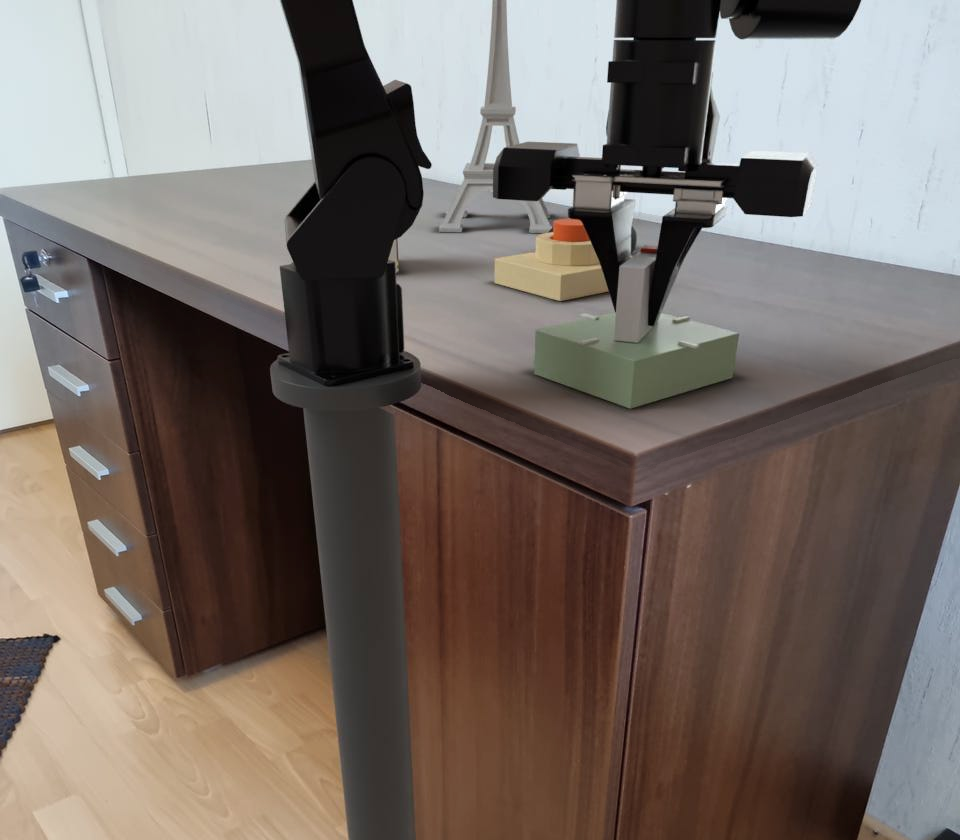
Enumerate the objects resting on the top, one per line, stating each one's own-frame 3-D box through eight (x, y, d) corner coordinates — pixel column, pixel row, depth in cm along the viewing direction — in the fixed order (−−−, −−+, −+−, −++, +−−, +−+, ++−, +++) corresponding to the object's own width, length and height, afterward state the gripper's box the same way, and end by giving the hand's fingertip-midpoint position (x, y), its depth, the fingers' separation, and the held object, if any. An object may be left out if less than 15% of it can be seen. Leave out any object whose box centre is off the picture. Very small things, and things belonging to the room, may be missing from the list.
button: (571, 247, 82) (572, 226, 81) (544, 241, 84) (545, 221, 83) (600, 243, 84) (602, 222, 83) (573, 237, 86) (574, 217, 85)
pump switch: (560, 301, 80) (562, 252, 78) (494, 283, 86) (494, 237, 84) (646, 284, 86) (650, 237, 84) (579, 268, 92) (581, 224, 89)
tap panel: (636, 412, 56) (641, 360, 55) (526, 372, 63) (528, 325, 61) (741, 380, 62) (748, 332, 60) (629, 346, 68) (633, 302, 67)
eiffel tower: (552, 233, 108) (566, -93, 91) (438, 231, 108) (432, -93, 92) (549, 214, 119) (561, -79, 103) (446, 213, 120) (442, -79, 103)
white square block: (637, 343, 58) (645, 263, 56) (613, 340, 59) (619, 261, 56) (659, 320, 63) (667, 246, 60) (636, 318, 63) (643, 244, 61)
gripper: (847, 40, 55) (797, 309, 64) (552, 39, 61) (542, 285, 70) (833, 40, 47) (777, 351, 55) (490, 39, 52) (488, 320, 61)
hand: (637, 323), depth 60 cm, fingers closed on white square block, 2 cm apart
